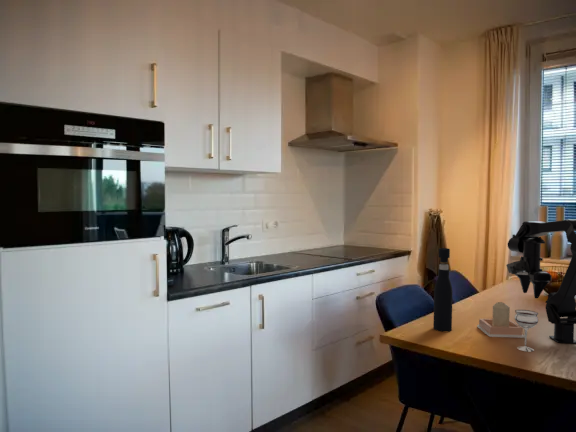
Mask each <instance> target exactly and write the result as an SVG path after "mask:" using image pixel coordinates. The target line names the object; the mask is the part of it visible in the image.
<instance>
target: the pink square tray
mask: <svg viewBox="0 0 576 432" xmlns="http://www.w3.org/2000/svg"><path fill="white" fill-rule="evenodd" d="M492 319H493V318H479V319H478V320H479V321H478V324H477V326H476V327H477V328H478V329H479V330H480V331H482V332H483V333H484V334H485V335H487V336H488V337H491V338H519V339H520V338H521V339H525V334H524V333H523V331H524V329H523V327H521V326H519V325H518V324H517V323H516V322H514V321H513V320H511V319H510V318H509V327H499V326H492Z"/></svg>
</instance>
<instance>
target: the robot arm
mask: <svg viewBox="0 0 576 432" xmlns="http://www.w3.org/2000/svg"><path fill="white" fill-rule="evenodd" d="M561 232H563V233H564V232H565V238H566V239H567V241H568V242H569V243H570V251H571V259H570V262H569V264H568V266H567V269H566V271H565V273H564V276H563V277H562V278H563V279H562V280H561V283H560V286H559V288H558V290H557V292H550V293H548V296H547V299H546V301H545V303H546V304H545V313H546V316H547V317H546V318H547V320H548V323H549V322H550V324H553V325H554V326H553V335H549V338H550V339H552V340H553V341H554V342H556V343H559V344H576V340H575V339H574V337H575V336H574V335H575V325H576V299H575V297H576V218H575V219H574V218H573V219H572V218H566V219H563V220H562V219H561V220H555V221H539V220H538V221H534V220H533V221H523V222H522V223H521V225H520V228H519V229H518V231H517V232H516V234H512V237H511V238H509V240H508V241H507V248H508V249H509V251H511V252H515V253H521V254H522V256H520V258H519V260H516V261H513V262H509V263H507V264H506V268H507V272H508V273H509V274H511V275H514V276H516V277H517V278H518V279H519V281H520V283H519V284H520V285H521V290H522V292H523V293H524V294H526V293H528V290H529V288H530V285H531V284H532V288H533V297H534V299H539V298H540V296H541V294H542V292H543V291H544V289H545V288H546V286H547V285H548V284H550V282H552V280H553V279H552V274H550V273H549V272H547V271H543V269H542V268H541V262H543V259H544V258H543V257H541V252H542V251H541V248H542V244H543V245H544V244H545V243H546V241H545V240H544V239H543V238H542V237H543V236H546V235H547V234H551V233H561Z"/></svg>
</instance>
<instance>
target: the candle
mask: <svg viewBox="0 0 576 432" xmlns="http://www.w3.org/2000/svg"><path fill="white" fill-rule="evenodd" d="M510 310H511V309H510V306H509V305H508V304H507V303H505V302H503V301H497V302H495V303H494V304H493V305H492V318H491V319H492V326H499V327H509V319H510Z"/></svg>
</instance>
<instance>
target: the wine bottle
mask: <svg viewBox="0 0 576 432" xmlns="http://www.w3.org/2000/svg"><path fill="white" fill-rule="evenodd" d="M450 253H451V249H450V248H448V247H445V248H444V247H441V248H438V258H440V261H439V265H438V266H439V267H438V273H437V274H438V275H437V279H436V281H435V285H434V289H433V329H434V330H435V331H437V330H438V332H443V331H448V332H451V331H452V329H453V328H452V326H453V295H454V294H453V286H452V282H451V279H450V269H449V264H448V261H449V260H448V259H450V256H451V255H450Z"/></svg>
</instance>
